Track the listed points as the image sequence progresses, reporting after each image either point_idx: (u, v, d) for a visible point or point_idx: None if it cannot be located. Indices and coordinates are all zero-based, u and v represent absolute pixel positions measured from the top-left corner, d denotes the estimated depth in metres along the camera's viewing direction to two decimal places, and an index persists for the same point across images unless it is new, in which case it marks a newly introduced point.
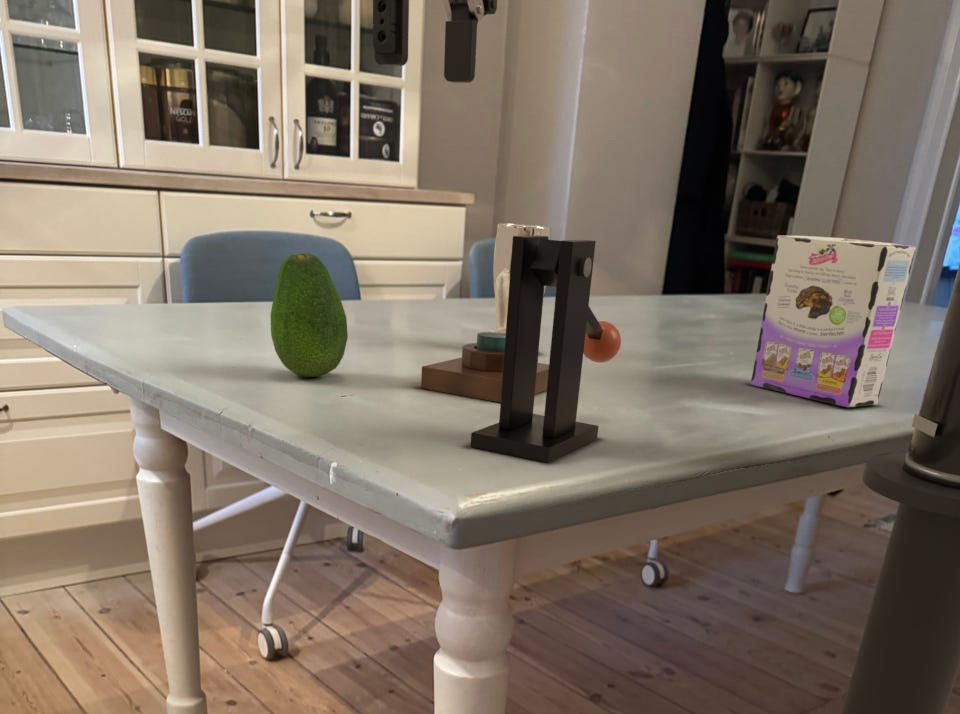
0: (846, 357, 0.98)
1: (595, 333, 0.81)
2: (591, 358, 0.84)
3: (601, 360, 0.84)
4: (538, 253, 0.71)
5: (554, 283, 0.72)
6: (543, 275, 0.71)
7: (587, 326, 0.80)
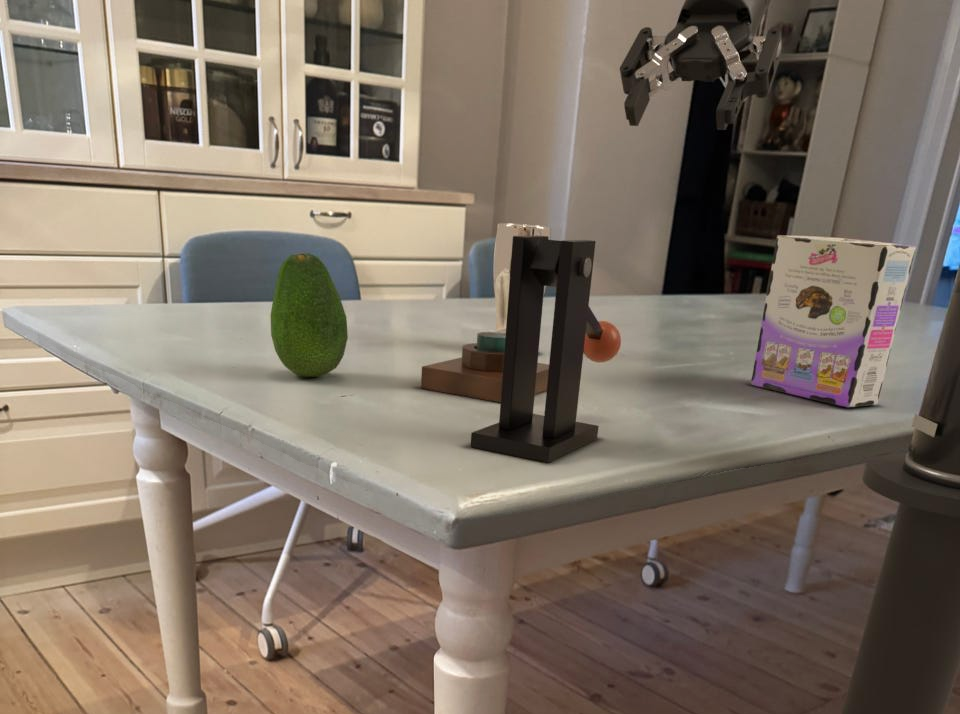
0: (846, 357, 0.98)
1: (595, 333, 0.81)
2: (591, 358, 0.84)
3: (601, 360, 0.84)
4: (538, 253, 0.71)
5: (554, 283, 0.72)
6: (543, 275, 0.71)
7: (587, 326, 0.80)
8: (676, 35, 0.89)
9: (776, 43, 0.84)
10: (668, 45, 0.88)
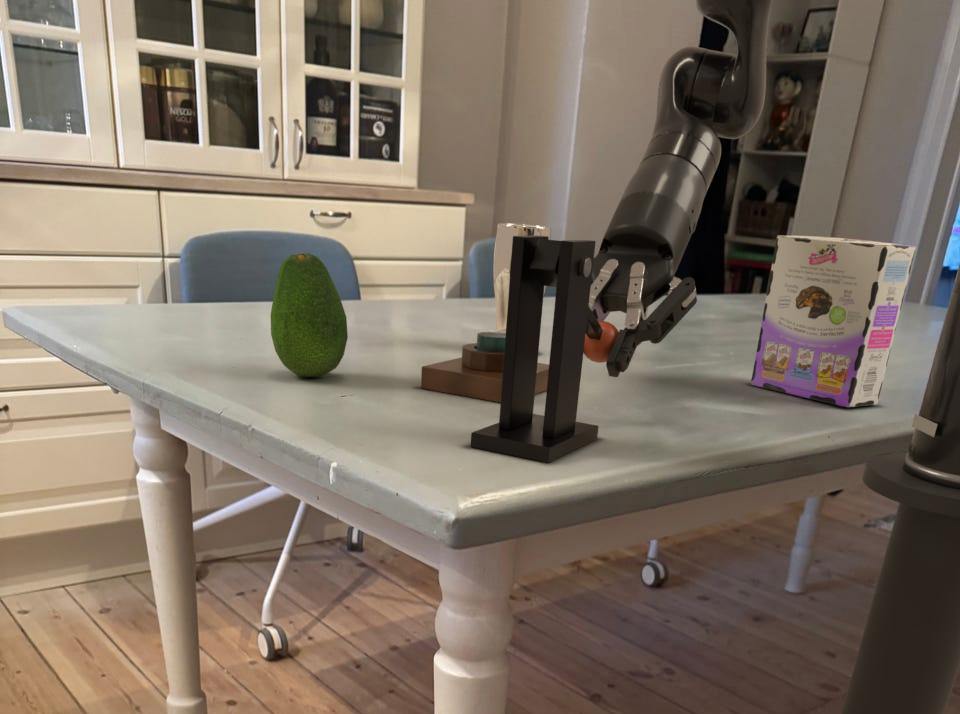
0: (846, 357, 0.98)
1: (595, 333, 0.81)
2: (591, 358, 0.84)
3: (601, 360, 0.84)
4: (538, 253, 0.71)
5: (554, 283, 0.72)
6: (543, 275, 0.71)
7: (587, 326, 0.80)
8: (598, 265, 0.86)
9: (681, 297, 0.82)
10: (594, 283, 0.85)
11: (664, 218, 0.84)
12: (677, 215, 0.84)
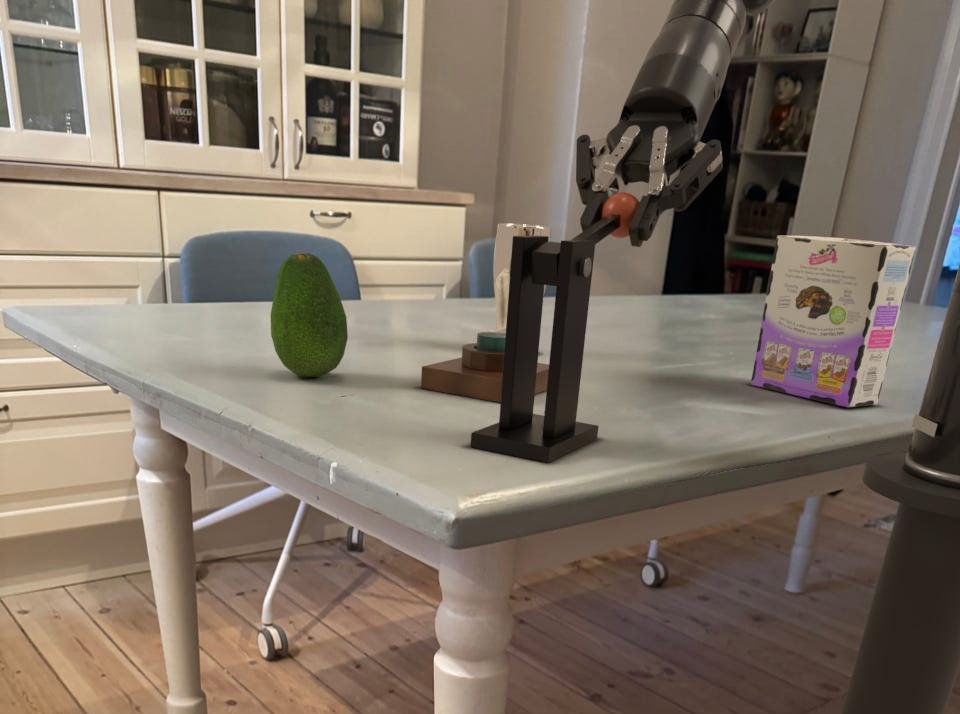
0: (846, 357, 0.98)
1: (613, 230, 0.79)
2: None
3: (627, 236, 0.82)
4: (535, 268, 0.71)
5: None
6: None
7: None
8: (618, 133, 0.83)
9: (707, 159, 0.78)
10: (615, 151, 0.81)
11: (688, 79, 0.80)
12: (701, 77, 0.81)
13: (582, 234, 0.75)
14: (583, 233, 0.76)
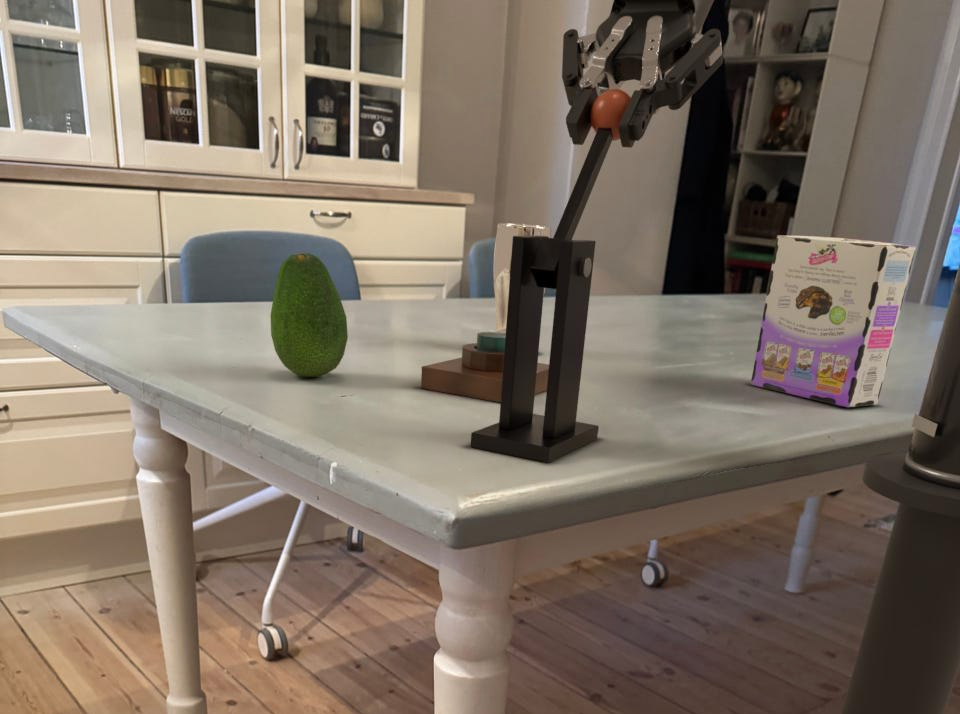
0: (846, 357, 0.98)
1: (607, 150, 0.74)
2: None
3: None
4: (537, 277, 0.72)
5: None
6: None
7: None
8: (608, 27, 0.76)
9: (705, 50, 0.71)
10: (605, 44, 0.74)
11: None
12: None
13: (575, 192, 0.72)
14: (576, 189, 0.72)
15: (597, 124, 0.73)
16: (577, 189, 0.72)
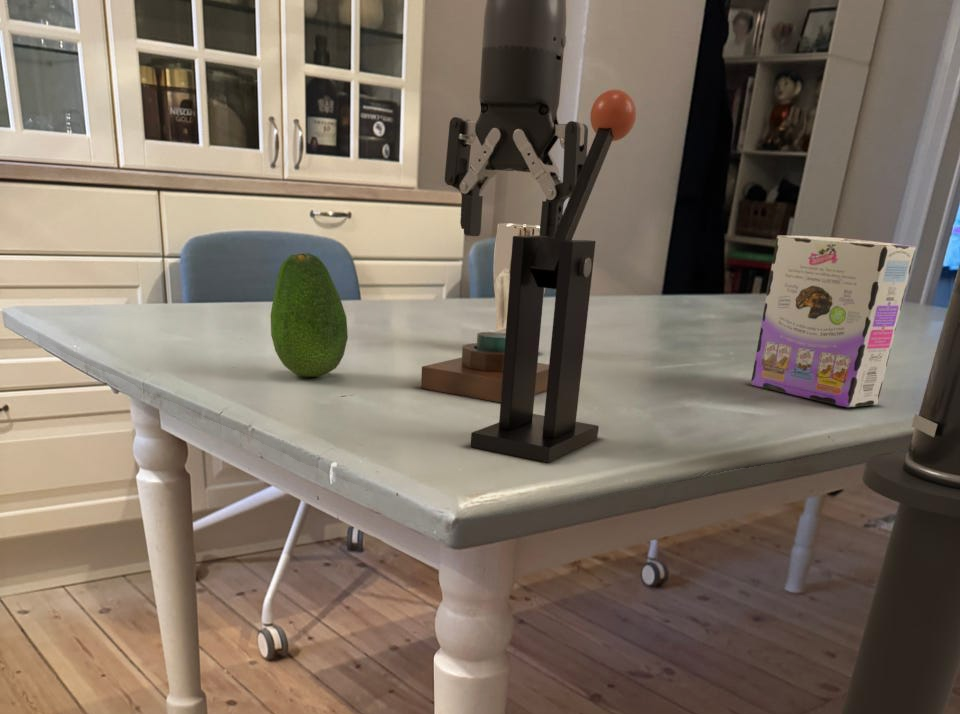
0: (846, 357, 0.98)
1: (607, 150, 0.74)
2: None
3: None
4: (537, 277, 0.72)
5: None
6: None
7: None
8: (484, 129, 0.89)
9: (575, 147, 0.85)
10: (479, 154, 0.89)
11: (527, 75, 0.83)
12: (539, 61, 0.83)
13: (575, 192, 0.72)
14: (576, 189, 0.72)
15: (597, 124, 0.73)
16: (577, 189, 0.72)
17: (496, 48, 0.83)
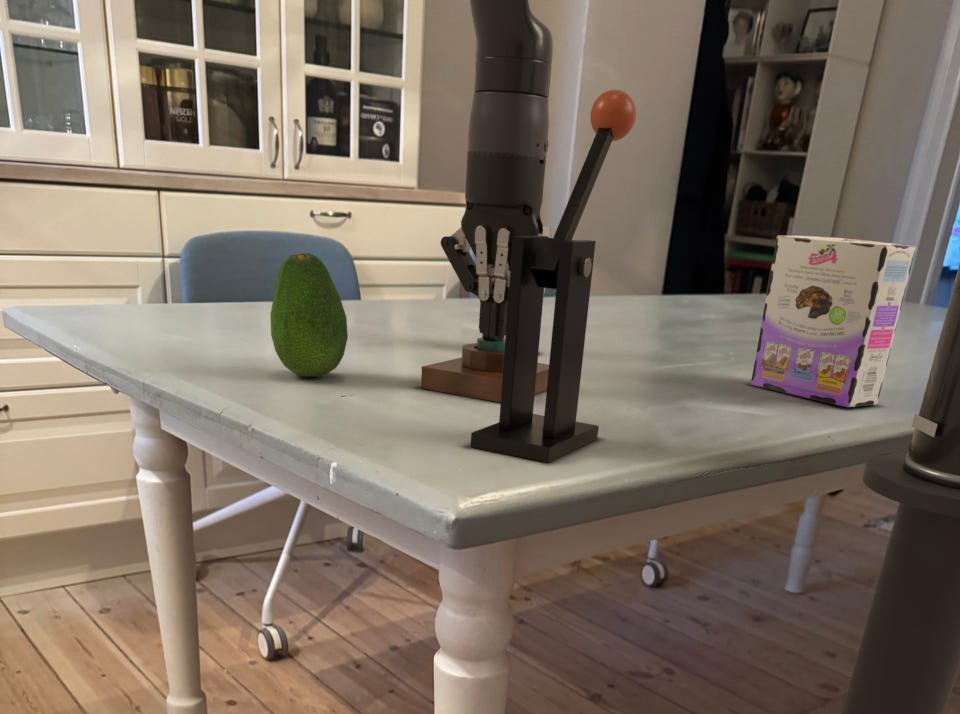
0: (846, 357, 0.98)
1: (607, 150, 0.74)
2: None
3: None
4: (537, 277, 0.72)
5: None
6: None
7: None
8: (469, 225, 0.91)
9: None
10: (478, 258, 0.92)
11: (511, 180, 0.86)
12: (523, 167, 0.86)
13: (575, 192, 0.72)
14: (576, 189, 0.72)
15: (597, 124, 0.73)
16: (577, 189, 0.72)
17: (481, 154, 0.86)
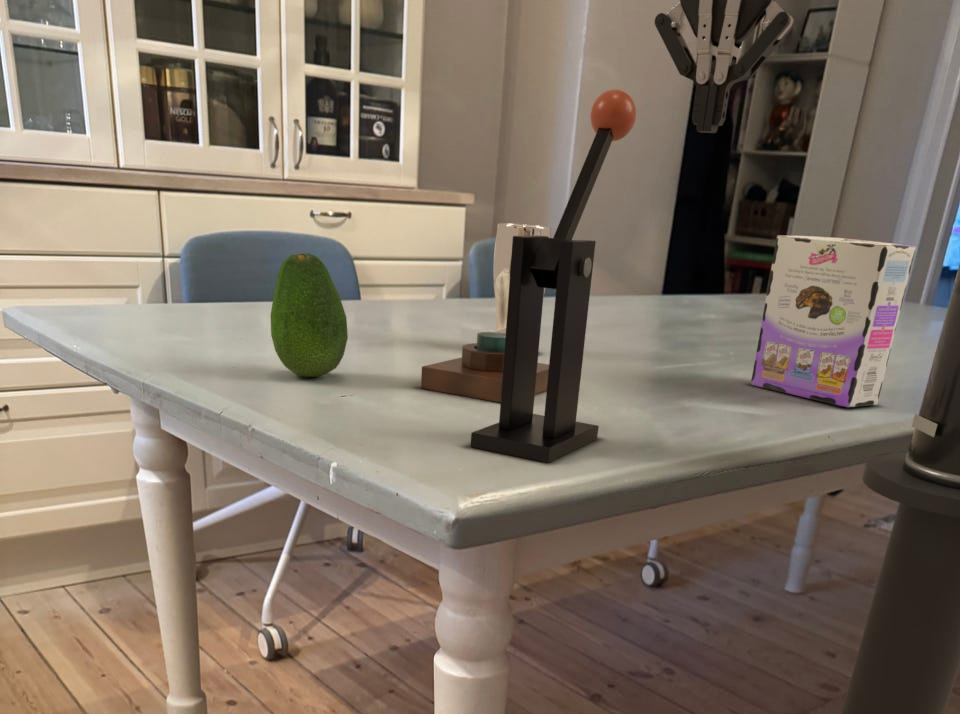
0: (846, 357, 0.98)
1: (607, 150, 0.74)
2: None
3: None
4: (537, 277, 0.72)
5: None
6: None
7: None
8: None
9: (772, 40, 0.82)
10: (700, 33, 0.84)
11: None
12: None
13: (575, 192, 0.72)
14: (576, 189, 0.72)
15: (597, 124, 0.73)
16: (577, 189, 0.72)
17: None
